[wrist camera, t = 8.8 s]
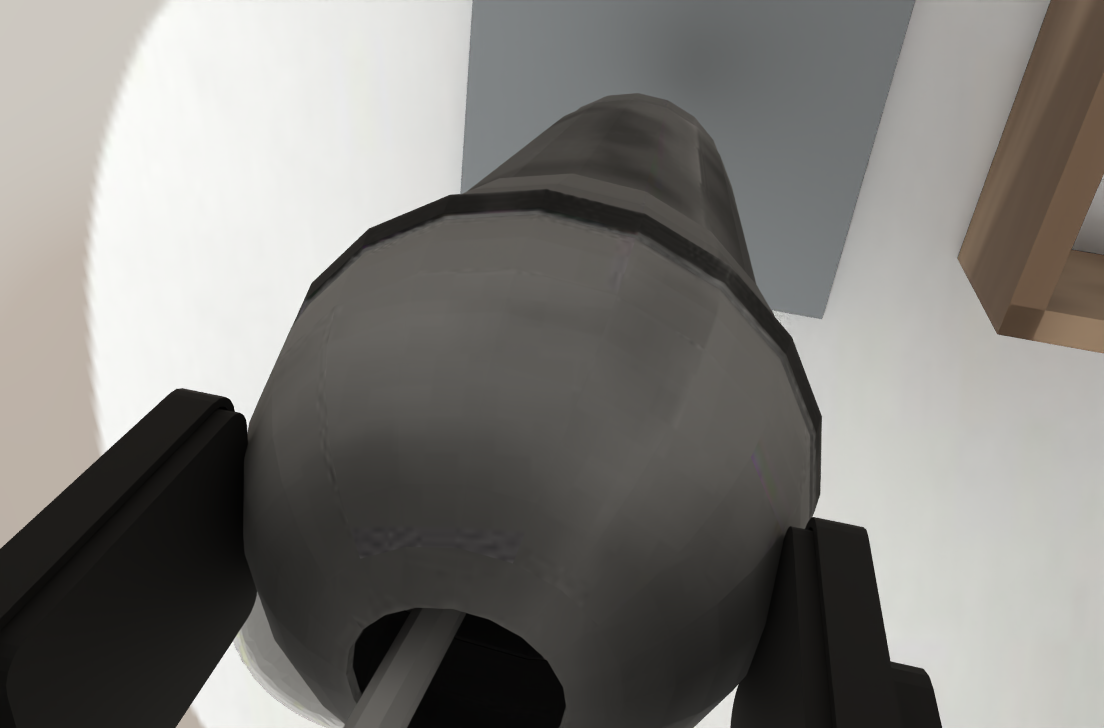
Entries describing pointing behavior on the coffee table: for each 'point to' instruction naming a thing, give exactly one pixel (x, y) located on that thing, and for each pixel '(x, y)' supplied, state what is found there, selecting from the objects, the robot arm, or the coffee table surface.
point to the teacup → (278, 670)
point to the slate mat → (709, 103)
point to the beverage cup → (536, 446)
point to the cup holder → (1046, 191)
